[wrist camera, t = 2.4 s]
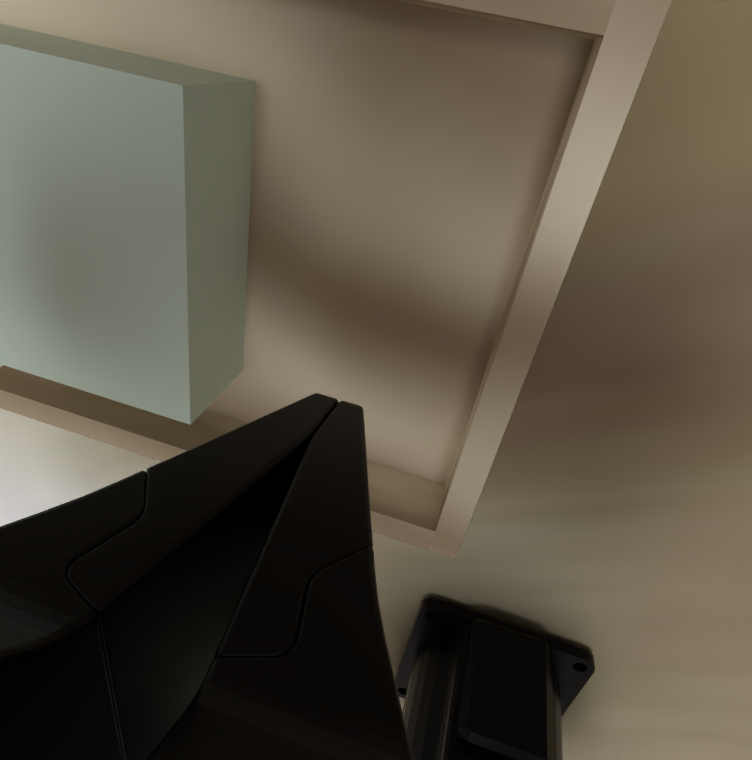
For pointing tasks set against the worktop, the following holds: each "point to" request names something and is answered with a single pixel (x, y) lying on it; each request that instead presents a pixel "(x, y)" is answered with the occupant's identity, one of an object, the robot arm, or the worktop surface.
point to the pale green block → (123, 221)
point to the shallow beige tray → (387, 216)
